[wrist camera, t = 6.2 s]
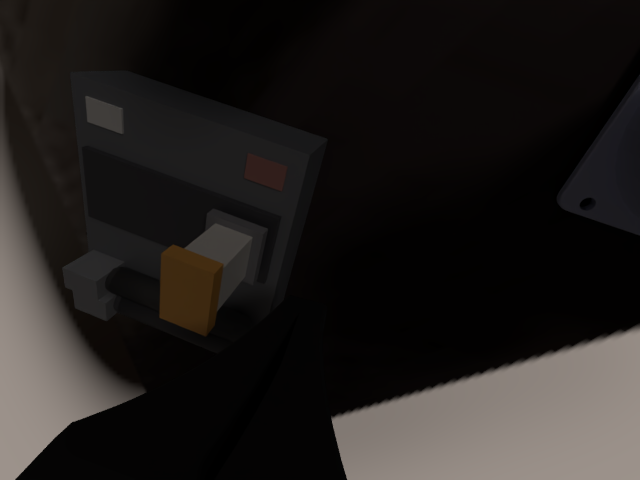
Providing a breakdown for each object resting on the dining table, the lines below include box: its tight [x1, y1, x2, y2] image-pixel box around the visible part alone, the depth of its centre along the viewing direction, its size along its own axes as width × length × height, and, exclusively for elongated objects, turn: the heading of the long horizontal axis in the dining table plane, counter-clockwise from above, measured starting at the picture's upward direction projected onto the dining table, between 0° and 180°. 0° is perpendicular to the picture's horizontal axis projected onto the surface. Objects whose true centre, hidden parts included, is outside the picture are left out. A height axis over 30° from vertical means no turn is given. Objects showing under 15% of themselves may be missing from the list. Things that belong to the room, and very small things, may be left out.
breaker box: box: [62, 70, 328, 354], centre depth 16 cm, size 10×11×5 cm
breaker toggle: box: [159, 209, 268, 336], centre depth 13 cm, size 2×3×4 cm
